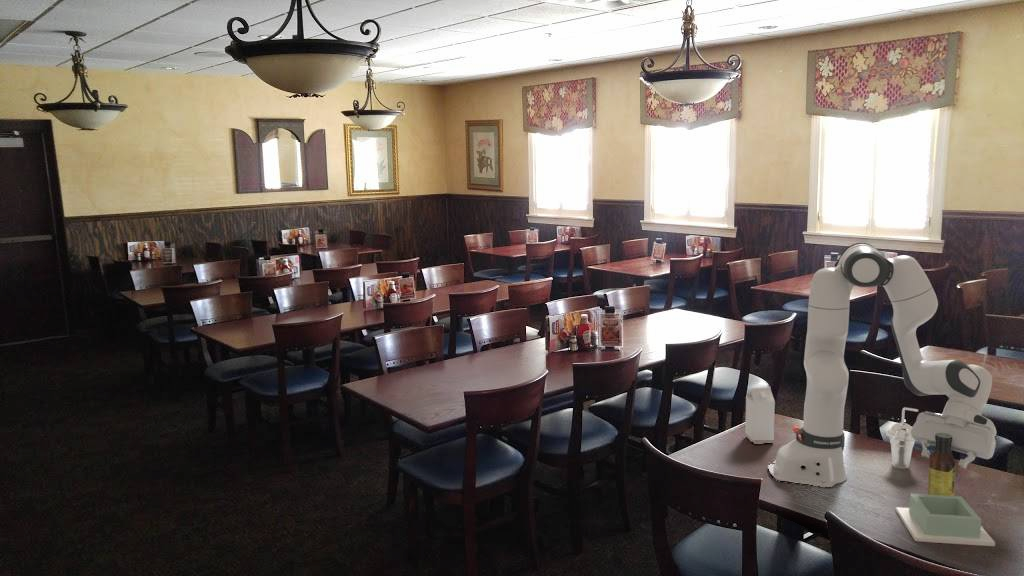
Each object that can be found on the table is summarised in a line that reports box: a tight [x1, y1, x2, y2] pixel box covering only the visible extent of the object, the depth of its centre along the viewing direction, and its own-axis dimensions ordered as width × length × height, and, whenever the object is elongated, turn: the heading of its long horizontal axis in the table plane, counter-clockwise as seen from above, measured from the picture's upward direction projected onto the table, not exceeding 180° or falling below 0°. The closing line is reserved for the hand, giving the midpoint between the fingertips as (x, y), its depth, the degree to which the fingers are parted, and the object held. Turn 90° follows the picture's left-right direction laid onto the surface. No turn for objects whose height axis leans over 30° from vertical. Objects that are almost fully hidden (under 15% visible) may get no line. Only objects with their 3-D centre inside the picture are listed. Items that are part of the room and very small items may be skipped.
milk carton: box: [744, 386, 776, 441], centre depth 246 cm, size 7×7×19 cm
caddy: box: [895, 493, 996, 547], centre depth 188 cm, size 18×16×6 cm
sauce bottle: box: [927, 433, 957, 496], centre depth 199 cm, size 6×6×20 cm
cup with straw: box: [886, 407, 920, 470], centre depth 223 cm, size 8×9×20 cm
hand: (942, 461), depth 198 cm, fingers open, 8 cm apart
